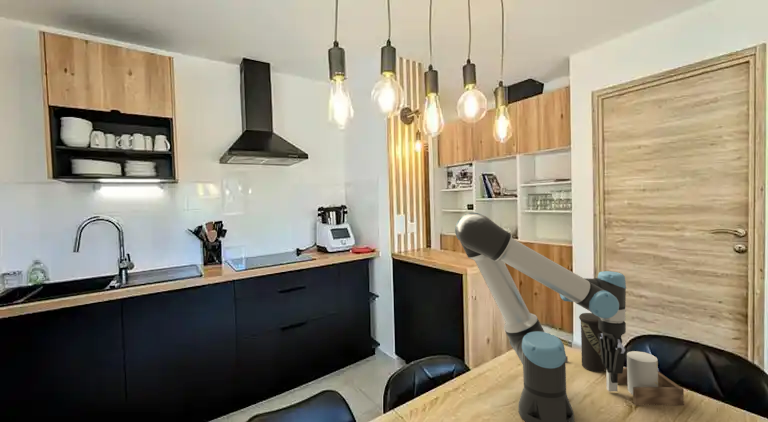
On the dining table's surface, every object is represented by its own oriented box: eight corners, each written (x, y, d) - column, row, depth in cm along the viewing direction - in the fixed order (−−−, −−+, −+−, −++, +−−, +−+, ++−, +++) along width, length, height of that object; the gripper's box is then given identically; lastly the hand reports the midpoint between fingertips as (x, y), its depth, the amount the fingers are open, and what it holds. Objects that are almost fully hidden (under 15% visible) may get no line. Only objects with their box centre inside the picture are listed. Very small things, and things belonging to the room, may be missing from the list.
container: (583, 371, 131) (582, 318, 130) (578, 360, 140) (576, 310, 139) (610, 373, 128) (609, 319, 128) (603, 362, 137) (601, 311, 136)
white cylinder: (664, 400, 111) (663, 362, 111) (635, 398, 112) (634, 361, 112) (649, 386, 119) (648, 351, 119) (623, 385, 120) (622, 350, 120)
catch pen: (635, 405, 109) (635, 389, 109) (610, 381, 123) (609, 367, 123) (683, 405, 108) (683, 389, 108) (652, 381, 122) (652, 367, 122)
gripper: (636, 326, 109) (636, 401, 110) (612, 312, 122) (612, 380, 123) (611, 326, 109) (611, 401, 110) (589, 313, 122) (589, 379, 123)
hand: (611, 390), depth 116 cm, fingers closed
